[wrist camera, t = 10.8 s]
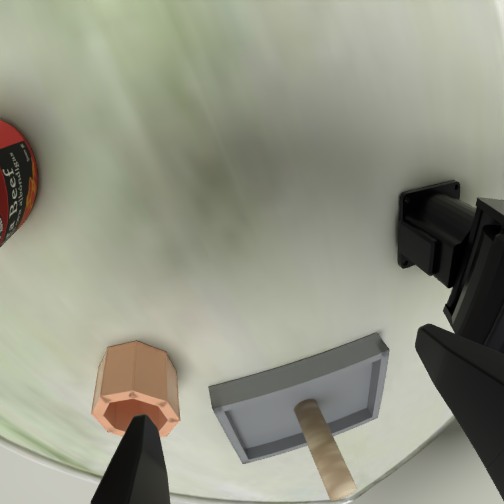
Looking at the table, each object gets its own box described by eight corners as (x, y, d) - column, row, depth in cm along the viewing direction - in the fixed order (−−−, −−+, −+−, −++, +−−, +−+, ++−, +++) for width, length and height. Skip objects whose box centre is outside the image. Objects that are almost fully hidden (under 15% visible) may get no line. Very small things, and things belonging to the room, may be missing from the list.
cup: (158, 335, 23) (157, 385, 19) (183, 385, 26) (188, 432, 22) (88, 351, 22) (78, 399, 18) (121, 397, 25) (118, 443, 21)
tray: (376, 332, 28) (389, 349, 26) (368, 402, 34) (377, 417, 32) (208, 386, 27) (212, 408, 24) (238, 446, 32) (242, 464, 30)
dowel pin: (316, 396, 29) (358, 484, 20) (317, 408, 30) (356, 492, 21) (292, 403, 29) (330, 495, 19) (294, 416, 30) (330, 502, 21)
